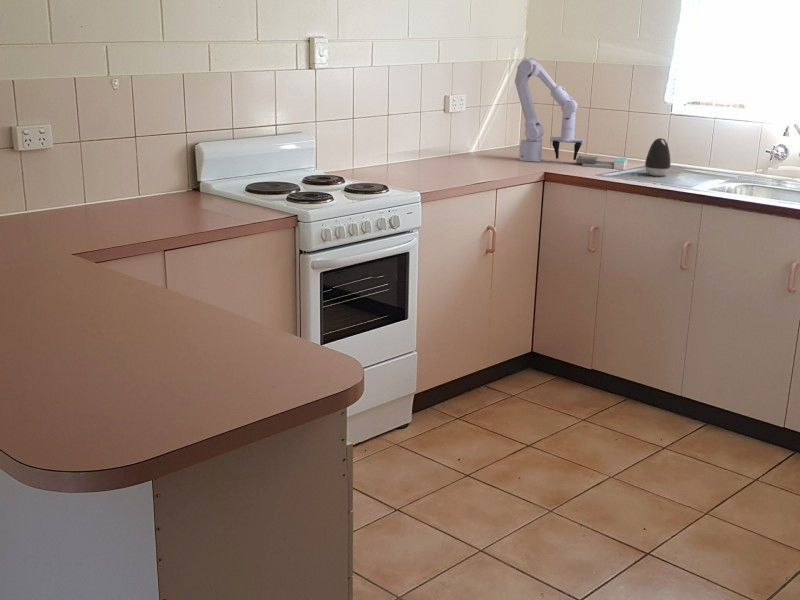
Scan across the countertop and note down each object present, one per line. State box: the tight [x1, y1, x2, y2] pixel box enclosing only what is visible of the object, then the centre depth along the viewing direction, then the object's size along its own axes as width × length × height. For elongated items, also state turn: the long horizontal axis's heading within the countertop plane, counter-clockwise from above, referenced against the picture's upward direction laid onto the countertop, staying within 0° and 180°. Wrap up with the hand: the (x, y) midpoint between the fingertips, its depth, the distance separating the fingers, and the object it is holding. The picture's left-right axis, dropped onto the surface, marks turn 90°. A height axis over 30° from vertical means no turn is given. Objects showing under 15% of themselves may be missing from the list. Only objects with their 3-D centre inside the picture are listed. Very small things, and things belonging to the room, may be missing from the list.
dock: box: [581, 157, 628, 170], centre depth 404 cm, size 18×12×3 cm
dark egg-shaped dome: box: [644, 137, 672, 177], centre depth 383 cm, size 10×10×15 cm
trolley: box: [575, 152, 598, 166], centre depth 406 cm, size 8×7×4 cm
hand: (565, 159), depth 409 cm, fingers open, 7 cm apart
